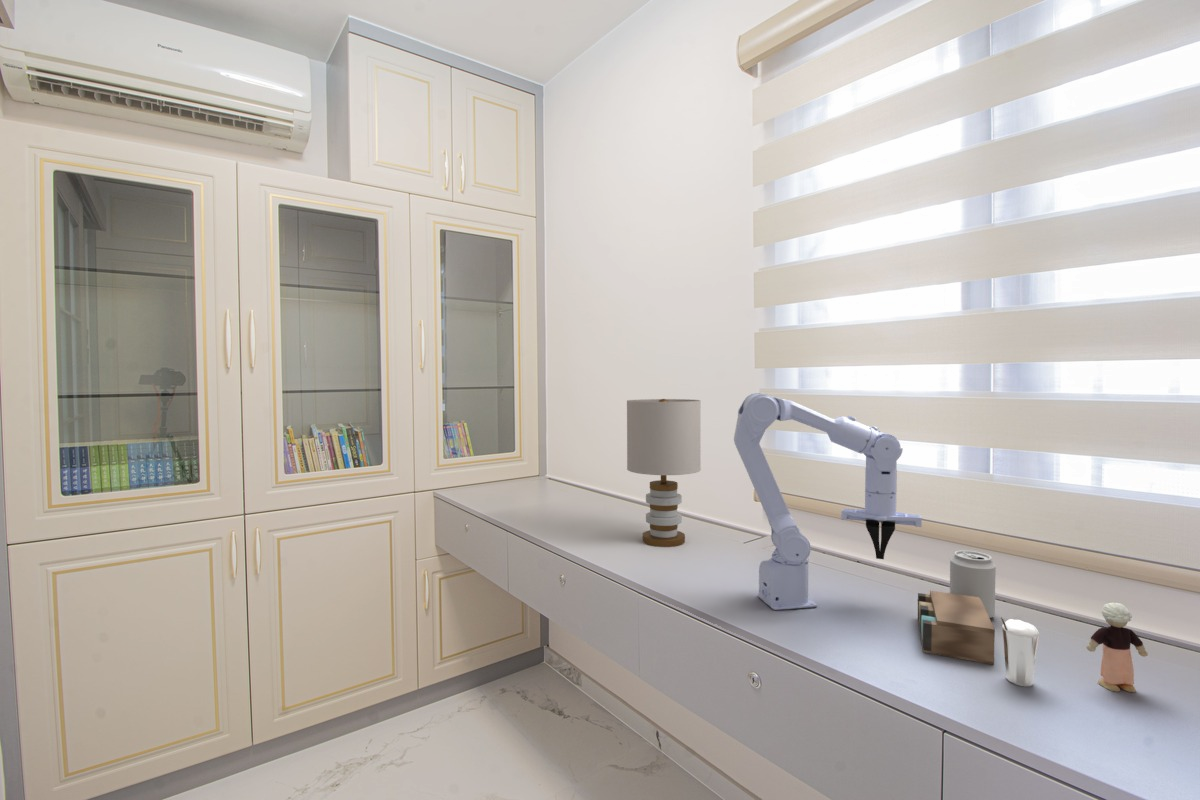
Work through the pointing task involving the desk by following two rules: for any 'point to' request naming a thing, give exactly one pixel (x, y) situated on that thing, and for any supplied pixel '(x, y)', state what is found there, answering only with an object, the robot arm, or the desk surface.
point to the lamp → (663, 458)
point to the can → (974, 577)
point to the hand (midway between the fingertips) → (879, 557)
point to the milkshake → (1020, 651)
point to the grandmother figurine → (1116, 648)
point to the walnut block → (957, 627)
